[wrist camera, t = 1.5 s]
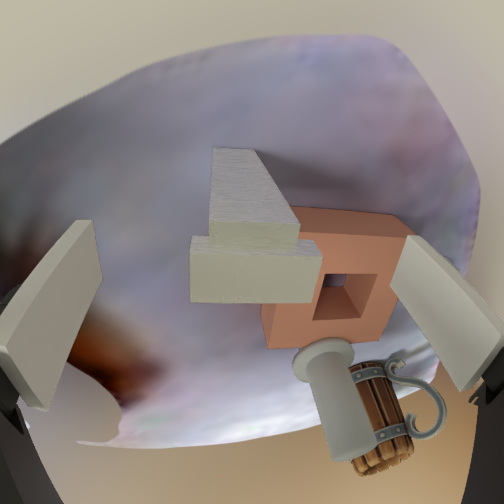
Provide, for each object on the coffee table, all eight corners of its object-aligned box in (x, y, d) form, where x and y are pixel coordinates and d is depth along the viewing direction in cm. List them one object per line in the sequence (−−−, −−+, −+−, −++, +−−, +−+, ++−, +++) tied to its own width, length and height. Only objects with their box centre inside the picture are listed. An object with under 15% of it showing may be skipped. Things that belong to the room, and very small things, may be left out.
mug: (345, 405, 45) (370, 479, 32) (308, 391, 40) (333, 480, 28) (419, 352, 40) (461, 425, 27) (394, 327, 36) (446, 417, 23)
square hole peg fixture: (255, 346, 34) (277, 476, 20) (276, 205, 25) (345, 350, 12) (409, 334, 37) (461, 423, 23) (458, 223, 28) (552, 307, 15)
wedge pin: (202, 185, 24) (190, 315, 11) (205, 146, 22) (189, 235, 9) (257, 188, 24) (307, 314, 11) (261, 150, 23) (326, 241, 10)
